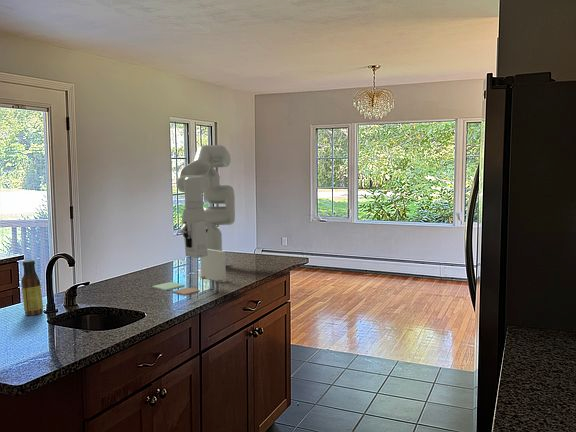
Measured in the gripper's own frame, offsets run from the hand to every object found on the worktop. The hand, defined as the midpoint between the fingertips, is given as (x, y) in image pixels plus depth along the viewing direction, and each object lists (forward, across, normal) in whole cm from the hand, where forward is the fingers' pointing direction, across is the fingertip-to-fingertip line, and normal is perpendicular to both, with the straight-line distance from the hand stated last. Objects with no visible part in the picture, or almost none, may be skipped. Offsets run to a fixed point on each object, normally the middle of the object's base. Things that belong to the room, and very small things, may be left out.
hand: (195, 245), depth 232 cm
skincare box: (+5, 0, 0) cm, 5 cm away
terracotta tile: (+18, +10, +5) cm, 21 cm away
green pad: (+18, +9, -9) cm, 22 cm away
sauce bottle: (+17, +65, -14) cm, 69 cm away
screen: (+19, -12, -4) cm, 23 cm away
